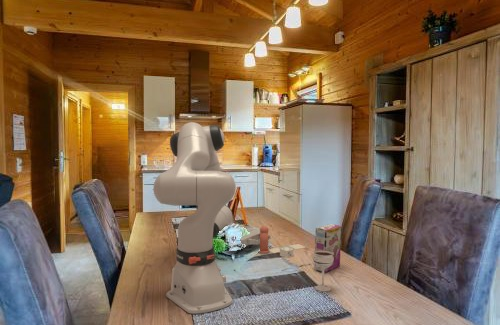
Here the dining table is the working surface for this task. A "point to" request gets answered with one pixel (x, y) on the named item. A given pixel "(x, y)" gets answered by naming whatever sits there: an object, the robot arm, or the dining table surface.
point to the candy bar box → (329, 243)
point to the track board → (275, 250)
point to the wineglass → (323, 264)
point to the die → (286, 252)
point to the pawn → (264, 240)
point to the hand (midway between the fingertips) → (264, 239)
